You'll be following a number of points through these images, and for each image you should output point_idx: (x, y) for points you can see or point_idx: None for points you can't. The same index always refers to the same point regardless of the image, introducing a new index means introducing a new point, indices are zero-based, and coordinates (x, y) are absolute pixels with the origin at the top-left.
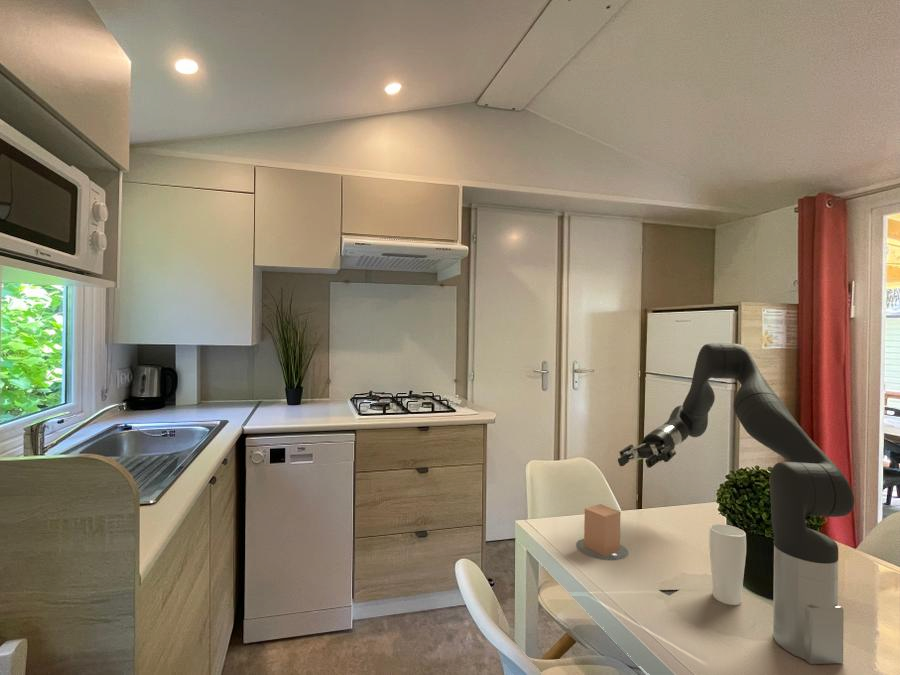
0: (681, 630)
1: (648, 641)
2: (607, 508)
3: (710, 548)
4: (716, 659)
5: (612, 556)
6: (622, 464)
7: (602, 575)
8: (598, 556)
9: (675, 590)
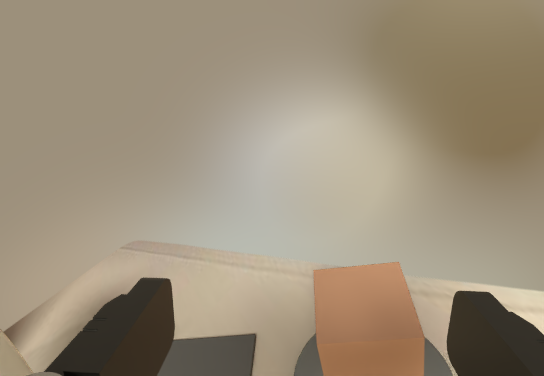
0: (128, 288)
1: (160, 245)
2: (367, 326)
3: (14, 347)
4: (88, 279)
5: (316, 366)
6: (454, 349)
7: (283, 299)
8: None
9: None
